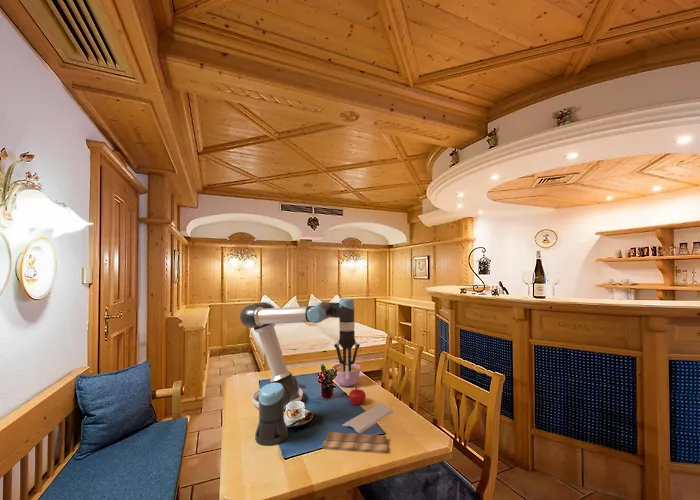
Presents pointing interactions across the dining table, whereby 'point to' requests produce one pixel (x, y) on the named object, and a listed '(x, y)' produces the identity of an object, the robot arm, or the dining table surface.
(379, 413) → the crown molding
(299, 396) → the bowl
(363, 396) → the pomegranate
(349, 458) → the dining table surface
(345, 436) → the plank
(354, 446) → the laid row
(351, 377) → the bowl of food
